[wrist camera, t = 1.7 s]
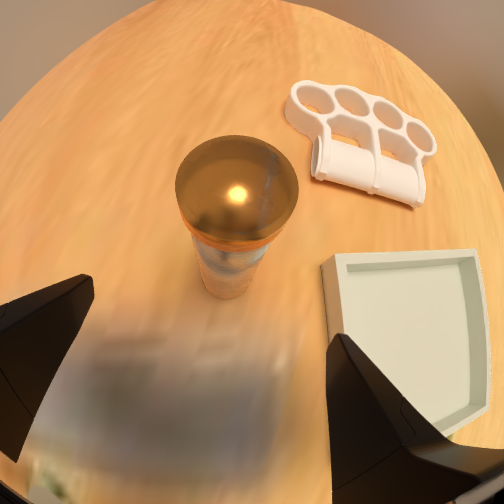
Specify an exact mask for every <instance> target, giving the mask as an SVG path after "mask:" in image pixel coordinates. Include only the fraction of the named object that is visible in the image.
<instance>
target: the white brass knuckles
mask: <svg viewBox="0 0 504 504" xmlns="http://www.w3.org/2000/svg"><path fill="white" fill-rule="evenodd" d="M302 104H305V105H310V106H312V107H314V108H316V109H317V110H318V111H320V113H321V114H318V113H315V112H312V111H310V110H308V109H306V108H305V107H304V106H303V105H302ZM342 107H344V108H346V109H348V110H349V111H350V112H352V113H353V114H351V113H349V112H347V111H346V110H345V109H343V108H342ZM284 114H285V117H286V120H287V121H288V123H289V124H290V125H291V126H292V127H293V128H294V129H296V130H297V131H298V132H300V133H302V134H304V135H306V136H308V138H309V139H310V140H311V142H312V143H313V144H314V145H313V150H312V157H311V175H312V177H315V178H316V179H317V180H320V181H323V180H328V181H332V182H335V183H339V184H343V185H346V186H350V187H354V188H357V189H361V190H364V191H367V193H369V194H372V195H373V194H378V195H381V196H384V197H387V198H390V199H394V200H397V201H400V202H403V203H406V204H409V205H410V206H411V207H413V208H416V207H420V206H421V205H422V204H423V202H424V199H425V192H426V184H425V179H424V172H423V167H422V166H423V165H425V164H426V163H427V162H428V161H429V160H430V159H431V158H432V157H433V156H434V155H435V153H436V150H437V144H436V141H435V138H434V136H433V135H432V133H431V131H430V130H429V129H428V128H427V127H426V125H425V124H423V123H422V122H421V121H420V120H418V119H415V118H412V117H410V116H408V115H407V114H405V113H404V112H402V111H401V110H400V109H399V108H398V107H396V106H395V105H394V104H393V103H391V102H390V101H388V100H386V99H384V98H382V97H381V96H374V95H370V94H368V93H365V92H363V91H361V90H359V89H358V88H356V87H353V86H347V85H342V84H339V85H335V86H330V85H323V84H319V83H316V82H314V81H311V80H304V81H300V82H297V83H296V84H294V85H293V86H292V88H291V89H290V92H289V96H288V99H287V103H286V106H285V110H284ZM378 119H379V120H380V121H382V122H383V123H384V124H386V125H387V126H386V125H384V124H383V123H382V122H380V121H379V120H378ZM331 133H335V134H338V135H342V136H345V137H348V138H351V139H354V140H356V141H357V142H358V143H359V145H360V148H359V147H356V146H353V145H350V144H346V143H343V142H339V141H336V140H332V139H331ZM412 142H413V143H414V144H415V145H416V146H415V145H414V144H413V143H412ZM381 149H384V150H387V151H390V152H392V153H393V154H394V155H395V157H396V158H397V159H398V160H399V161H400V162H399V161H397V160H394V159H391V158H389V157H386V156H383V155H381Z"/></svg>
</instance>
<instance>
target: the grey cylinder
mask: <svg viewBox="0 0 504 504" xmlns="http://www.w3.org/2000/svg"><path fill="white" fill-rule="evenodd" d="M298 191H299V187H298V180H297V176H296V173H295V171H294V169H293V167H292V165H291V163H290V162H289V161H288V159H287V158H286V157H285V156H284V155H283V154H282V153H281V152H280V151H279V150H277V149H276V148H275V147H273V146H272V145H270V144H268V143H266V142H264V141H262V140H259V139H256V138H253V137H248V136H240V135H229V136H222V137H217V138H214V139H211V140H208V141H206V142H204V143H202V144H200V145H199V146H197V147H196V148H195V149H193V150H192V151H191V152H190V153H189V154H188V155H187V156H186V157H185V159H184V160H183V162H182V163H181V165H180V167H179V169H178V172H177V175H176V181H175V192H176V198H177V201H178V205H179V209H180V213H181V216H182V219H183V221H184V223H185V225H186V227H187V228H188V230H189V231H190V232H191V235H192V239H193V244H194V248H195V252H196V256H197V260H198V264H199V268H200V272H201V276H202V280H203V283H204V285H205V287H206V289H207V290H208V291H209V292H210V293H211V294H212V295H214V296H215V297H218V298H221V299H232V298H235V297H237V296H239V295H241V294H242V293H243V292H244V291H245V290H246V288H247V287H248V285H249V283H250V281H251V279H252V277H253V275H254V273H255V271H256V269H257V267H258V265H259V263H260V261H261V259H262V257H263V255H264V254H265V252H266V250H267V248H268V246H269V244H270V242H271V241H272V240H274V239H275V238H276V237H277V236H278V235H279V234H280V232H281V231H282V230H283V228H284V226H285V225H286V223H287V221H288V219H289V218H290V216H291V214H292V212H293V210H294V208H295V206H296V203H297V199H298Z"/></svg>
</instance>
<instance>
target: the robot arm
mask: <svg viewBox="0 0 504 504" xmlns="http://www.w3.org/2000/svg"><path fill="white" fill-rule="evenodd" d="M93 300H94V286H93V279H92V277H91V276H89V275H86V274H80V275H77V276H75V277H72V278H69V279H67V280H64V281H61V282H59V283H56V284H53V285H51V286H48V287H46V288H43V289H41V290H38V291H35V292H33V293H30V294H28V295H25V296H23V297H20V298H18V299H15V300H13V301H11V302H9V303H6V304H3V305H1V306H0V452H2V453H3V454H4V455H5V456H7V457H8V458H9V459H11V460H12V461H14V462H15V463H17V461H18V458H19V456H20V453H21V450H22V447H23V445H24V442H25V440H26V437H27V435H28V432H29V430H30V427H31V425H32V423H33V420H34V419H33V418H35V416H36V413H37V411H38V409H39V407H40V404H41V402H42V400H43V398H44V396H45V394H46V392H47V390H48V388H49V386H50V384H51V382H52V380H53V378H54V376H55V374H56V372H57V370H58V368H59V366H60V364H61V362H62V361H63V359H64V357H65V355H66V353H67V351H68V350H69V348H70V346H71V344H72V343H73V341H74V339H75V337H76V336H77V334H78V332H79V330H80V328H81V326H82V324H83V321H84V319H85V317H86V315H87V313H88V311H89V309H90V306H91V304H92V302H93ZM326 399H327V410H328V423H329V437H330V453H331V473H332V491H333V492H332V504H504V449H489V448H479V447H471V446H463V445H458V444H455V443H453V442H451V441H450V440H448V439H447V438H446V437H445V436H444V435H443V434H442V433H440V432H439V431H438V430H437V429H436V428H435V427H434V426H433V425H432V424H431V423H430V422H429V421H428V420H426V419H425V418H424V417H423V416H422V415H421V414H420V413H419V412H418V411H417V410H416V409H415V408H414V407H413V405H412V404H411V403H410V402H409V401H408V400H407V399H406V398H405V397H404V396H403V395H402V393H401V392H400V391H399V390H398V389H397V388H396V387H395V386H394V385H393V384H392V382H391V381H390V380H389V379H388V378H387V377H386V376H385V375H384V374H383V373H382V371H381V370H380V369H379V368H378V367H377V366H376V365H375V364H374V363H373V362H372V361H371V359H370V358H369V357H368V356H367V355H366V354H365V353H364V352H363V351H362V350H361V349H360V347H359V346H358V345H357V344H356V343H355V342H354V341H353V340H352V339H351V338H350V337H349V336H348V335H347V334H342V333H337V334H335V336H334V337H333V339H332V341H331V343H330V345H329V347H328V349H327V352H326ZM0 504H33V503H31V502H30V501H29V500H27V499H26V498H24V497H23V496H21V495H20V494H18V493H17V492H16V491H14V490H13V489H12V488H10V487H9V486H7V485H6V484H5V483H4V482H2V481H1V480H0Z"/></svg>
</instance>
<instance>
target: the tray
mask: <svg viewBox="0 0 504 504" xmlns="http://www.w3.org/2000/svg"><path fill="white" fill-rule="evenodd" d="M321 273H322V281H323V289H324V298H325V307H326V317H327V328H328V339H329V345H330V343H331V341H332V339H333V337H334V336H335V334H337V333H342V334H347V335H348V336H349V337H350V338H351V339H352V340H353V341H354V342H355V343H356V344H357V345H358V346H359V347H360V349H361V350H362V351H363V352H364V353H365V354H366V355H367V356H368V357H369V358H370V359H371V361H372V362H373V363H374V364H375V365H376V366H377V367H378V368H379V369H380V370H381V371H382V373H383V374H384V375H385V376H386V377H387V378H388V379H389V380H390V381H391V382H392V384H393V385H394V386H395V387H396V388H397V389H398V390H399V391H400V392H401V393H402V395H403V396H404V397H405V398H406V399H407V400H408V401H409V402H410V403H411V404H412V405H413V407H414V408H415V409H416V410H417V411H418V412H419V413H420V414H421V415H422V416H423V417H424V418H425V419H426V420H428V421H429V422H430V423H431V424H432V425H433V426H434V427H435V428H436V429H437V430H438V431H439V432H440V433H442V434H443V435H444V436H445V437H447V436H449V435H450V434H452V433H454V432H455V431H457V430H459V429H461V428H462V427H464V426H465V425H467V424H469V423H470V422H472V421H473V420H475V419H476V418H478V417H479V416H481V415H482V414H484V413H485V412H487V411H488V410H489V406H490V389H491V349H490V332H489V320H488V311H487V303H486V296H485V289H484V283H483V278H482V272H481V267H480V263H479V258H478V254H477V249H452V250H427V251H400V252H373V253H344V254H334V255H333V256H331V257H330V258H329V259H328V260H326V261H325V262H324V263H323V264H321Z"/></svg>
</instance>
